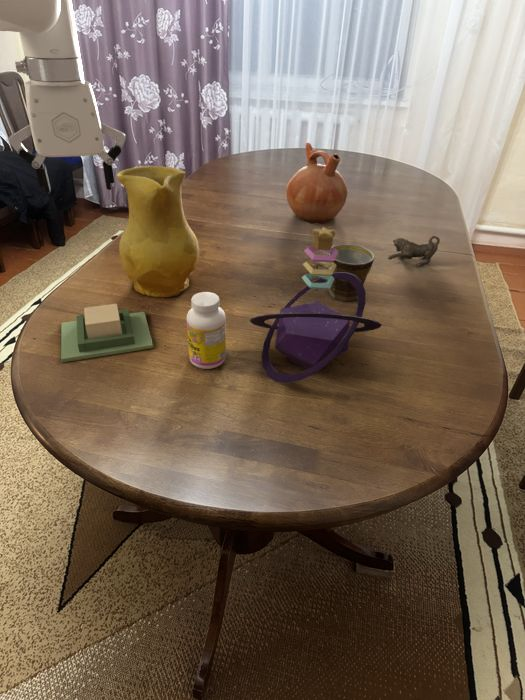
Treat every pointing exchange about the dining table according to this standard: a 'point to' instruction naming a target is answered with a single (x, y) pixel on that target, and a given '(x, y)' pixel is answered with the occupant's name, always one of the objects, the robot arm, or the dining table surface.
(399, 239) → the dog figurine
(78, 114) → the robot arm
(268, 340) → the purple faceted ringed piece
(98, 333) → the beige cube block
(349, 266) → the ceramic cup
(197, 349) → the supplement bottle
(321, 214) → the jug
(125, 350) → the green rectangular tray
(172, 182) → the pitcher
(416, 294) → the dining table surface
